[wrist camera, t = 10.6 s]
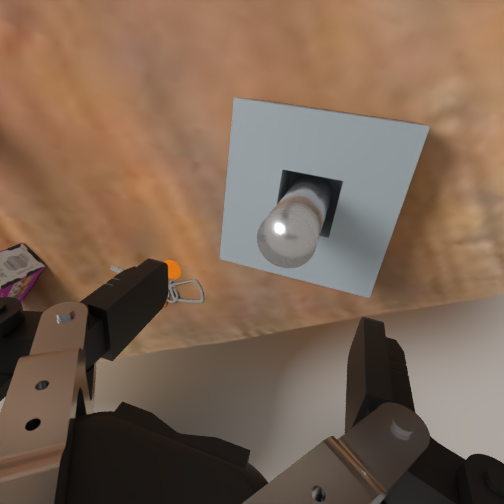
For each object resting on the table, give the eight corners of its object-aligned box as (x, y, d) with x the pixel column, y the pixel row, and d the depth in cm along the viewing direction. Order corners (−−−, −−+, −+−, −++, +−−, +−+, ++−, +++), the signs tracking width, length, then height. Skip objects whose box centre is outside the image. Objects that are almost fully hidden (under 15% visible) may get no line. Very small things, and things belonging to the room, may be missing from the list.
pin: (296, 169, 29) (261, 206, 18) (336, 177, 28) (322, 219, 18) (289, 207, 30) (253, 260, 20) (327, 215, 30) (309, 274, 19)
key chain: (193, 254, 38) (190, 257, 37) (209, 307, 40) (206, 311, 40) (109, 261, 42) (105, 264, 41) (128, 308, 45) (124, 311, 44)
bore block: (252, 99, 28) (233, 97, 24) (417, 122, 26) (430, 126, 21) (236, 239, 35) (219, 258, 30) (367, 271, 32) (369, 298, 27)
